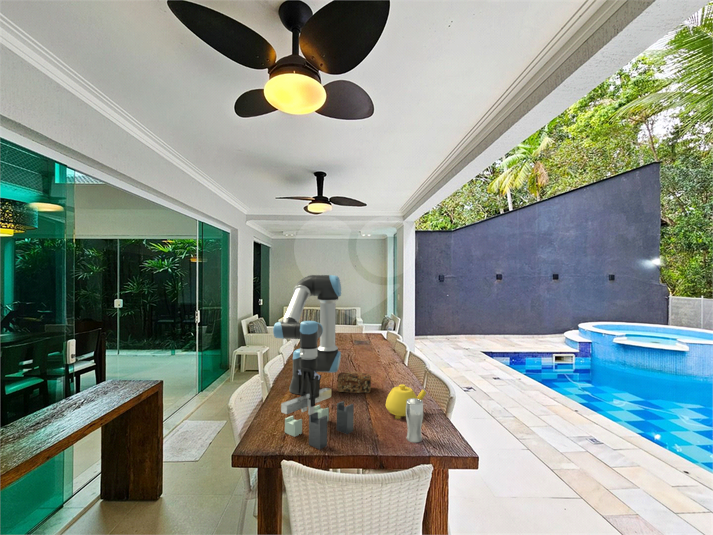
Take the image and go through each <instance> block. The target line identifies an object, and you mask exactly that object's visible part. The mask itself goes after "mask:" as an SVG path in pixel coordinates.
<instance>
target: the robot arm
mask: <svg viewBox="0 0 713 535" xmlns="http://www.w3.org/2000/svg"><path fill="white" fill-rule="evenodd" d="M292 290H293V291H292V294H293V295H292V298H291V299H290V302H289V304H288V306H287V309H286V311H285V314H284V316H283V318H282V320H281V321H277V322H275V323H274V325H273V329H272V332H273V336H274V338H276V339H280V340H281V339H282V340H287V339H288V340H299V348H297V349H295V350H294V351H293V352H292V353H293V354H292V378H291V381H290V385H289V387H288V388H289V390H288V391H289V392H290V394H294V395H299V397H301V396H304V395H306V394H309V393H310V398H309V402H308V406H307V407H305V408H302V409H300V410H301V413H304V412H307V411H308V412H307V415H308V416H309V415H311V414H313V413H314V407H315V406H316V403H315V398H318V397H319V390H321V388H320V385H321V378H322V374H319V373H326V374H327V373H328V374H330V373H331V374H332V373H337V372H338V370H339V369H340V368H339V367H340V363H341V358H342V357H341V355H342V352H341V351H340V350H339V346H337V345H336V318H337V316H336V303H337V301H338V300H339V297H341V296H342V285H341V280H340V277H339V276H338V275H334V274H321V275H320V274H310V275H307V276H305V277H303V278H302V279H300V280H299V281H298V282H297V283H296V284H295V286H294V287H293V289H292ZM311 297H317V301H318V302H319V303H320V304H319V318H320V319H319V322H317V321H315V320H303V321H301V322H299V321H300V319H301V316H302V313H303V310H304V309H305V305H306V303H307V300H308V299H310V298H311ZM318 339H319V340H318ZM318 341H319V346H318Z"/></svg>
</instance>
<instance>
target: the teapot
mask: <svg viewBox="0 0 713 535" xmlns="http://www.w3.org/2000/svg"><path fill="white" fill-rule="evenodd" d="M427 393H428V392H427V391H426V390H425V389H423V388H422V389H421V391H420V392H419V393H418V395H416V392H414V390H413V389H412V388H411V387H410V386H407V385H406V384H399V385H398V386H394V387H392V389H391V390H390V392H389V393H388V395H387V397H386V401H385V408H386V410H387V411H388V412H389V413H390V414H392V415H394V419H395V420H400V419H401V418H402V417H406V400H407V399H411V398H415V399H420V400H422V401H423V399H424V398H425V396H426V394H427Z"/></svg>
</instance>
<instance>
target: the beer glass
mask: <svg viewBox="0 0 713 535" xmlns="http://www.w3.org/2000/svg"><path fill="white" fill-rule="evenodd" d="M405 419H406V426H407V432H406V440H407V441H408V442H411V443H413V444H414V443H416V444H417V443H421V442H422V441H423V438H422V436H423V435H422V426H423V421H424V420H423V419H424V401H423V399H422V400H420V399H415V398H411V399H407V400H406V416H405Z"/></svg>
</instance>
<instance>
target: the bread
mask: <svg viewBox="0 0 713 535" xmlns="http://www.w3.org/2000/svg"><path fill="white" fill-rule="evenodd" d="M371 387H372V376H371V374H370V373H365V372H361V371H348V372H347V371H342V372H339V373H338V374H337V392H339V393H342V392H343V393H352V394H355V393H357V394H361V393H368V394H369V393H370V392H371V389H372V388H371Z"/></svg>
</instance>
